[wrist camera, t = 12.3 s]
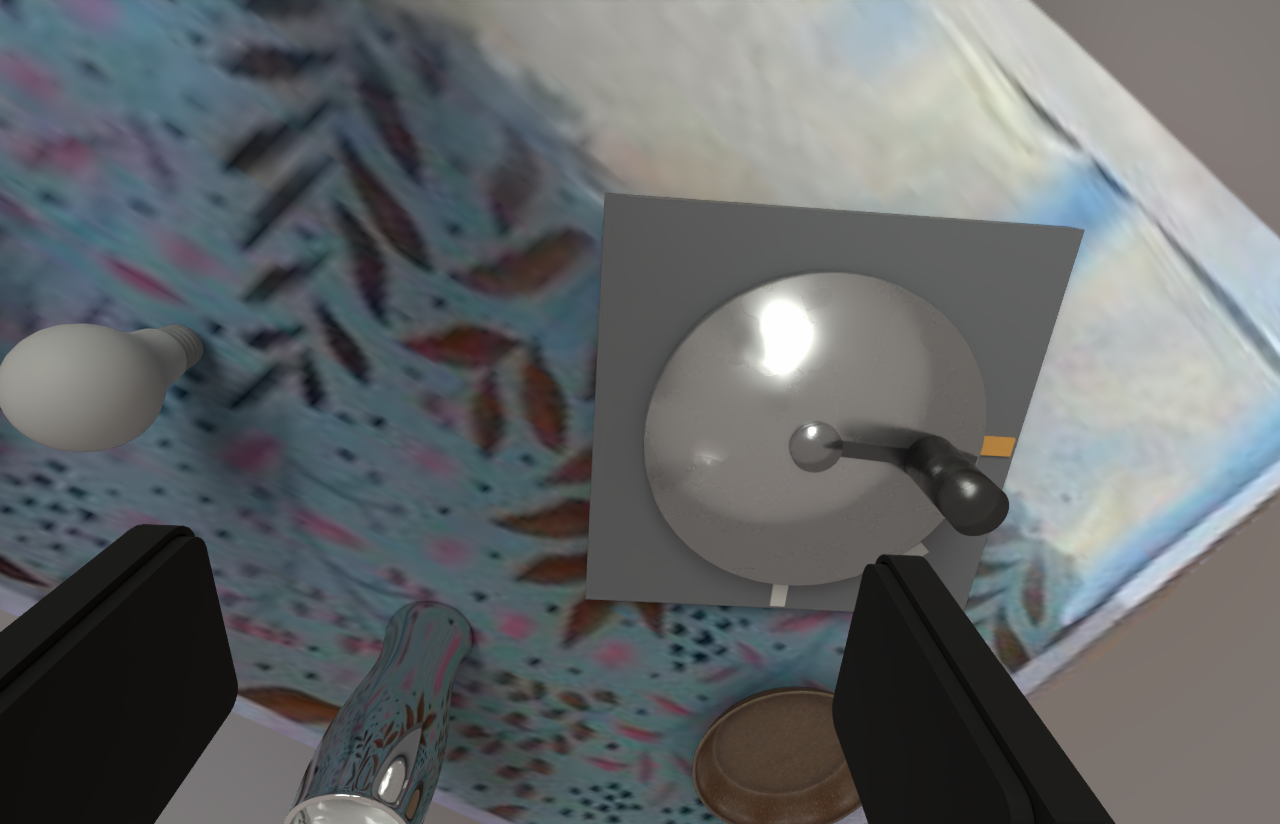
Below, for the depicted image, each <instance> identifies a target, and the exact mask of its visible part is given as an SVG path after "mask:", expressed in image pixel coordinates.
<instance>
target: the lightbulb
mask: <svg viewBox="0 0 1280 824" xmlns="http://www.w3.org/2000/svg"><path fill="white" fill-rule="evenodd" d="M203 351H204V350H203V344H202V342H201V340H200V338H199V337H198V335H197V334H196V333H195V332H194V331H192V330H191V329H190V328H188V327H185V326H182V325H177V324H174V325H169V326H164V327H161V328H157V329H142V330H138V331H135V332H122V331H119V330H116V329H112V328H108V327H104V326H99V325H93V324H85V323H82V324H63V325H57V326H53V327H50V328H46V329H43V330H40V331H37V332H35V333H34V334H32V335H30V336H28V337H27V338H25V339H24V340H22V341H20V342H19V343H18V344H17V345H16V346H15V347H14V348H13V349H12V350H11V351H10V352H9V353H8V354H7V355H6V357H5V358H4V360H3V362H2V364H1V366H0V407H1V409H2V411H3V413H4V414H5V416H6V417H7V419H8V420H9V421H10V423H11V424H12V425H13V426H14V427H15V428H16V429H17V430H19V431H20V432H21V433H22V434H24V435H25V436H27V437H29V438H30V439H32V440H34V441H36V442H38V443H41V444H43V445H46V446H48V447H51V448H55V449H59V450H65V451H72V452H94V451H103V450H106V449H110V448H114V447H117V446H120V445H123V444H125V443H127V442H129V441H131V440H133V439H135V438H136V437H138V436H140V435H141V434H142V433H143V432H144V431H145V430H147V429H148V428H149V426H150V425H151V424H152V423H153V422H154V421H155V419H156V418H157V416H158V415H159V413H160V410H161V407H162V404H163V401H164V398H165V395H166V390H167V388H168V387H169V386H170V385H171V384H172V383H173V382H175V381H176V380H178V379H179V378H180V377H181V376H182V375H183V373H184V372H185V371H186V370H187V369H189V368H191V367H192V366H193V365H195V364H196V363H198V362H199V361H200V360H201V358H202V356H203Z"/></svg>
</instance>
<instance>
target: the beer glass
mask: <svg viewBox="0 0 1280 824" xmlns="http://www.w3.org/2000/svg"><path fill="white" fill-rule="evenodd" d="M472 642H473V635H472V630H471V628H470V626H469V624H468V622H467V621H466V619H465V618H464V617H463V616H462V615H461V614H460V613H458V612H457V611H456V610H454V609H452V608H450V607H448V606H446V605H443V604H440V603H435V602H416V603H412V604H409V605H407V606H405V607H403V608H401V609H400V610H398V611H397V612H396V613H395V614H394V615H393V616H392V618H391V619H390V621H389V623H388V626H387V629H386V632H385V637H384V641H383V646H382V649H381V652H380V655H379V657H378V659H377V661H376V662H375V664H374V666H373V667H372V669H371V670H370V671H369V673H368V674H367V675H366V677H365V678H364V679H363V680H362V682H361V683H360V684H359V685H358V687H357V688H356V689H355V691H354V692H353V693H352V695H351V696H350V697H349V698H348V700H347V701H346V702H345V704H344V705H343V706H342V708H341V709H340V711H339V712H338V714H337V715H336V716H335V718H334V719H333V721H332V722H331V724H330V725H329V727H328V729H327V730H326V732H325V734H324V736H323V737H322V739H321V741H320V743H319V745H318V746H317V748H316V750H315V753H314V755H313V757H312V759H311V761H310V763H309V765H308V767H307V769H306V772H305V774H304V776H303V779H302V781H301V783H300V786H299V788H298V791H297V793H296V796H295V798H294V801H293V803H292V806H291V808H290V810H289V813H288V814H287V816H286V818H285V820H284V823H283V824H423V822H424V819H425V817H426V814H427V812H428V809H429V806H430V804H431V801H432V798H433V795H434V792H435V789H436V786H437V783H438V779H439V776H440V772H441V768H442V764H443V761H444V755H445V749H446V743H447V737H448V727H449V717H450V706H451V697H452V689H453V685H454V681H455V678H456V676H457V674H458V672H459V670H460V668H461V667H462V665H463V663H464V662H465V660H466V658H467V657H468V655H469V652H470V650H471V647H472Z"/></svg>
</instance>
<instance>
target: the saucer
mask: <svg viewBox="0 0 1280 824" xmlns="http://www.w3.org/2000/svg"><path fill="white" fill-rule="evenodd" d="M833 697H834V693H831V692H828V691H824V690H820V689H815V688H808V687H781V688H774V689H770V690H766V691H762V692H759V693H756V694H754V695H751V696H749V697H747V698H745V699H743V700H741V701H739V702H738V703H736V704H735V705H733V706H732V707H730V708H729V709H728V710H726V711H725V712H724V713H723V714H722V715H721V716H720V717H718V719H717V720H716V721H715V722H714V723H713V724H712V725H711V727H710V728H709V729H708V731H707V732H706V734H705V735H704V737H703V738H702V740H701V742H700V744H699V745H698V748H697V750H696V752H695V756H694V759H693V767H692V775H693V783H694V786H695V790H696V792H697V794H698V796H699V798H700V800H701V801H702V802H703V804H704V805H705V806H706V808H707V809H708V810H709V811H710V812H711V813H713V814H714V815H715V816H716V817H718V818H719V819H721V820H722V821H724V822H726V823H728V824H832V823H835V822H837V821H839V820H841V819H842V818H844V817H846V816H848V815H849V814H851V813H852V812H854V811H855V810H857V809H858V808H859V807H860V806H861V805H862V804H861V801H860V798H859V796H858V793H857V790H856V787H855V784H854V781H853V779H852V776H851V773H850V770H849V767H848V765H847V762H846V759H845V756H844V753H843V750H842V748H841V745H840V742H839V739H838V736H837V734H836V731H835V727H834V723H833V717H832V703H833Z"/></svg>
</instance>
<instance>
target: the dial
mask: <svg viewBox="0 0 1280 824" xmlns="http://www.w3.org/2000/svg"><path fill="white" fill-rule="evenodd" d="M985 429H986V398H985V390H984V383H983V380H982V377H981V374H980V370H979V367H978V364H977V362H976V360H975V358H974V355H973V353H972V351H971V349H970V347H969V345H968V344H967V342H966V341H965V339H964V338H963V337H962V335H961V334H960V332H959V331H958V329H957V328H956V327H955V326H954V325H953V324H952V323H951V322H950V321H949V320H948V319H947V318H946V317H945V316H944V314H943V313H942V312H940V311H939V310H938V309H936V308H935V307H934V306H932V305H931V304H930V303H928V302H927V301H926V300H924V299H923V298H921V297H919V296H917V295H915V294H914V293H912V292H910V291H908V290H906V289H904V288H902V287H900V286H899V285H897V284H894V283H892V282H889V281H886V280H883V279H881V278H878V277H875V276H871V275H866V274H862V273H857V272H852V271H839V270H816V271H803V272H798V273H793V274H787V275H782V276H778V277H775V278H772V279H769V280H766V281H763V282H760V283H757V284H755V285H753V286H751V287H749V288H747V289H745V290H742V291H740V292H738V293H736V294H734V295H733V296H731V297H730V298H728V299H726V300H725V301H723V302H722V303H720V304H719V305H717V306H716V307H714V308H713V309H712V310H711V311H709V312H708V313H707V314H706V315H704V316H703V317H702V318H701V319H700V320H698V321H697V322H696V323H695V324H694V325H693V326H692V327H691V329H690V330H689V331H688V332H687V333H686V334H685V335H684V336H683V337H682V338H681V339H680V341H679V342H678V343H677V345H676V346H675V348H674V349H673V350H672V352H671V353H670V355H669V356H668V357H667V359H666V361H665V363H664V365H663V367H662V369H661V370H660V372H659V374H658V376H657V378H656V381H655V384H654V386H653V389H652V392H651V394H650V397H649V402H648V406H647V411H646V415H645V424H644V437H643V438H644V455H645V467H646V472H647V476H648V481H649V485H650V488H651V491H652V493H653V496H654V499H655V501H656V504H657V505H658V507H659V509H660V511H661V513H662V514H663V516H664V518H665V520H666V521H667V522H668V524H669V525H670V526H671V528H672V529H673V530H674V532H675V533H676V534H677V535H678V536H679V537H680V538H681V539H682V540H683V541H684V542H685V543H686V544H687V545H688V546H689V547H690V548H691V549H692V550H693V551H695V552H696V553H697V554H699V555H700V556H701V557H703V558H704V559H705V560H707V561H709V562H711V563H712V564H714V565H716V566H718V567H719V568H721V569H723V570H726V571H728V572H730V573H733V574H735V575H738V576H740V577H744V578H747V579H751V580H754V581H758V582H764V583H770V584H776V585H793V586H802V585H818V584H824V583H830V582H836V581H841V580H844V579H848V578H851V577H855V576H859V575H861V574H863V571H864V568H865V567H866V565H867V564H875V563H876V560H877V559H878V557H879V556H880V555H882V554H892V555H902V554H904V553H905V552H907V551H908V550H910V549H911V548H913V547H914V546H916V545H917V544H918V543H919V542H920V541H922V540H923V539H924V538H925V537H926V536H928V535H929V534H930V533H931V532H932V531H933V530H934V529H935V528H936V527H937V526H938V525H939V524H940V523H941V522H942V521H943V520H944V519H945V518H946V520H947V521H948V522H949V523H950V524H951V525H952V527H953V528H954V529H955V530H956V531H957V532H959V533H961V534H963V535H966V536H980V535H984V534H987V533H989V532H991V531H993V530H994V529H996V528H997V527H998V526H999V525H1000V524H1001V523H1002V522H1003V521H1004V519H1005V518H1006V516H1007V513H1008V510H1009V501H1008V498H1007V496H1006V494H1005V493H1004V492H1003V491H1002V490H1001V489H1000V488H999V487H998V486H997V485H996V484H994V483H993V482H992V481H991V480H990V479H989V478H988V477H987V476H986V475H985V474H984V473H983V472H981V471H980V470H979V469H978V468H977V467H976V466H977V464H978V460H979V457H980V453H981V450H982V447H983V442H984V436H985Z"/></svg>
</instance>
